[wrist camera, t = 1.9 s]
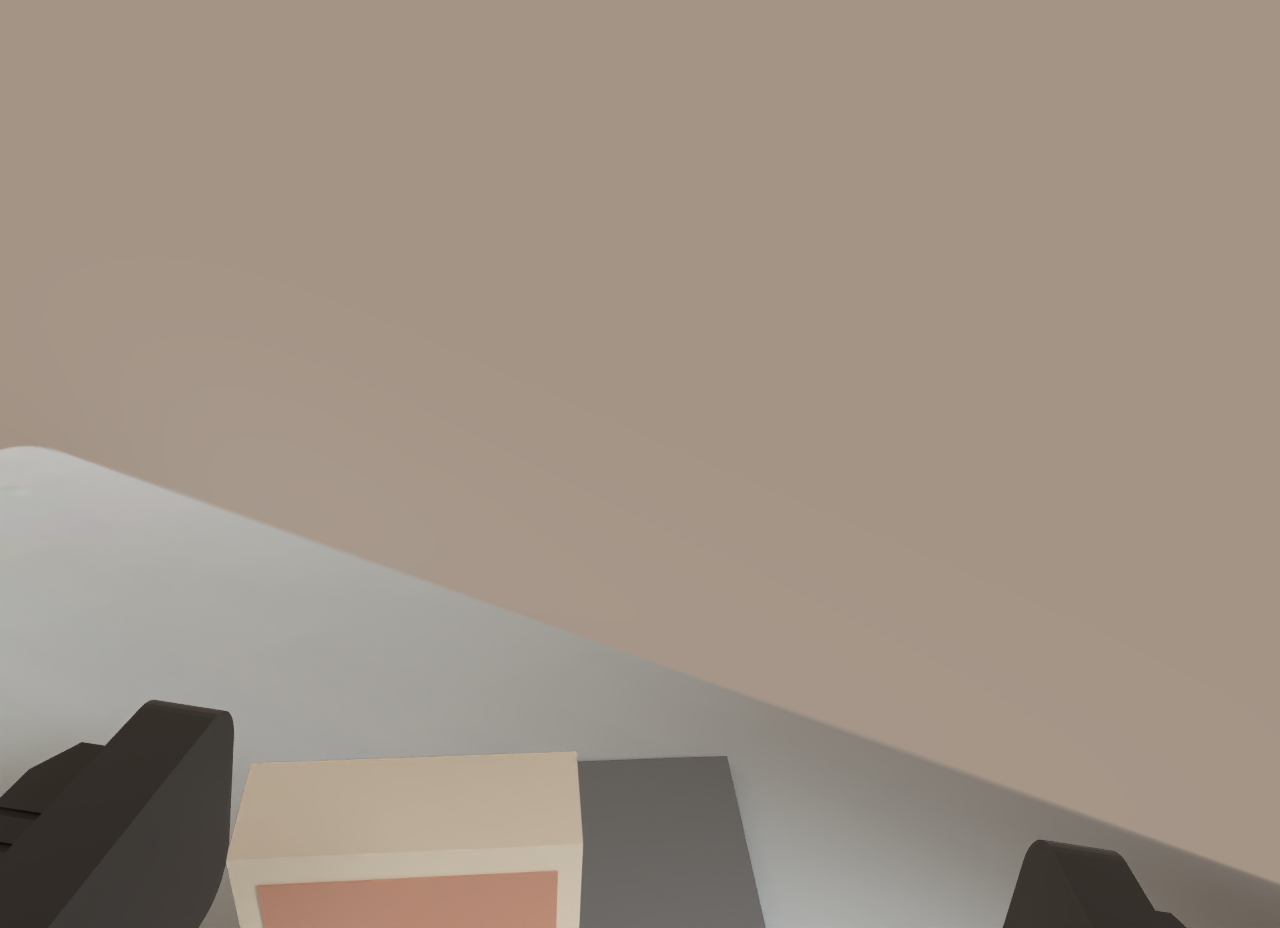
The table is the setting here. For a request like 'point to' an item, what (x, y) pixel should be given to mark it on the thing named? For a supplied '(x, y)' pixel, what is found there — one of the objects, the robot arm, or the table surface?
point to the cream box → (410, 843)
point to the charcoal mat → (664, 846)
